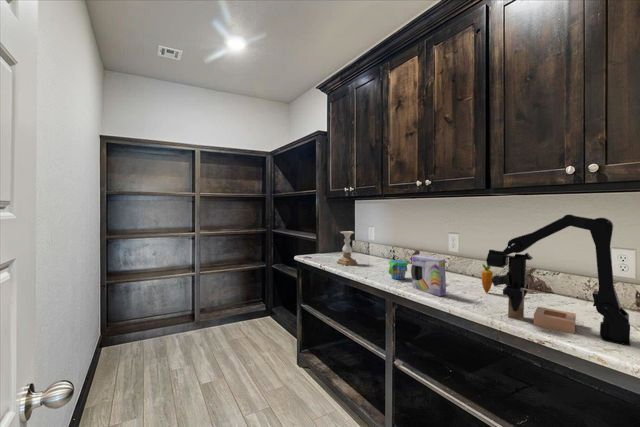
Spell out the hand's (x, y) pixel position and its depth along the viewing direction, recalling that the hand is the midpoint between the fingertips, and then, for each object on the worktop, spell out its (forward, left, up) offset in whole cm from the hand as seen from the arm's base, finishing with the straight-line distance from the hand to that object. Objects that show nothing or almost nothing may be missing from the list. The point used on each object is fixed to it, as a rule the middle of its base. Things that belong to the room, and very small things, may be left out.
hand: (516, 309), depth 120 cm
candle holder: (+113, -44, -3) cm, 121 cm away
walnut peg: (0, 0, -3) cm, 3 cm away
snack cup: (+64, -28, -3) cm, 70 cm away
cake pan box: (+40, -12, -3) cm, 42 cm away
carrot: (+17, -30, -3) cm, 35 cm away
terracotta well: (-12, -1, -3) cm, 12 cm away
